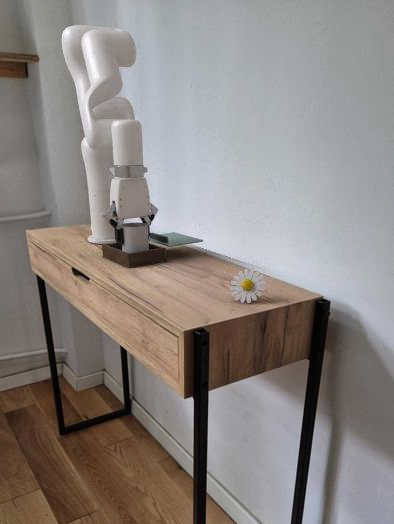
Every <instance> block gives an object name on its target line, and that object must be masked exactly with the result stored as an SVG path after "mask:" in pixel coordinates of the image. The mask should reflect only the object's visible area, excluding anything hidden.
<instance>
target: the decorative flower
mask: <svg viewBox="0 0 394 524" xmlns="http://www.w3.org/2000/svg"><path fill="white" fill-rule="evenodd" d="M243 271H244V272H243ZM243 271H241V270H239V271H238V272H237V273H238V275H239V276H238V275H234V276H233V280H230V285H232V286H231V287H229V290H230V291H232V292H231V295H230V296H232V297H235V301H236V302H237V301H240V304H241V303H242V304H243V303H245V301H246V302H247V304H250V303H251V302H252V300H253V301H257V300H258V297H262V296H263V293H262V292H261V291H265V290H266V287H265V286H264V285H266V283H267V281H266V280H263V279H264V278H265V276H264V274H261V271H259V270H256V271H255V268H250V270H249V269H248V268H244V270H243ZM257 296H258V297H257Z"/></svg>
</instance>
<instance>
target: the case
mask: <svg viewBox="0 0 394 524" xmlns="http://www.w3.org/2000/svg"><path fill="white" fill-rule="evenodd" d="M101 250H102V258H103V259H106V260H108V261H111V262H114V263H116V264H118V265H120V266H123V267H126V268H128V269H131V268H137V267H141V266H142V267H143V266H147V265H153V264H158V263H164V262H165V263H166V262H167V253H166V251H167V250H166V247H163V246H161V245H157V244H153V243H150V242H149V250H147V251H141V252H134V253H127V252H124V251H122V244H119V243H109V244H101Z"/></svg>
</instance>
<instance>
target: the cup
mask: <svg viewBox="0 0 394 524" xmlns="http://www.w3.org/2000/svg"><path fill="white" fill-rule="evenodd" d="M121 229H123V235H124V244H122V251H124V252H127V253H134V252H141V251H147V250H149V243H150V241H149V238H148V224H146V223H142V222H125V223H124V222H123V224H122V227H121Z"/></svg>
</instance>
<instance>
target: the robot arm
mask: <svg viewBox="0 0 394 524" xmlns="http://www.w3.org/2000/svg"><path fill="white" fill-rule="evenodd" d="M61 49H62V54H63V58H64V61H65V65H66V67H67V69H68V71H69V74H70V76H71V77H72V80H73V83H74V86H75V91H76V92H75V93H76V99H77V103H78V109H79V115H80V119H81V124H82V129H83V134H84V137H83V139H82V140H81V142H80V143H81V144H80V148H81V149H80V151H81V155H82V159H83V163H84V169H85V174H86V181H87V182H86V183H87V193H88V202H89V203H88V204H89V215H90V228H89V229H90V231H91V235H89V236H87V242H89V243H91V244H97V245H102V244H109V243H119V244H124V235H123V229H121V227H122V224H124V221H125V220H128V219H129V220H130V219H136V218H137V219H139V220H140V221H141V223H146V224H148V238H149V236H150V233H151V228H150V227H151V226H152V222H154V219H155V218H156V216H157V214H158V212H159V208H158V207H157V206H155V205H154V204H153V203H152V202H151V197H150V190H149V185H148V181H147V178H146V177H145V173H148V167H147V166H145V164H144V149H143V148H144V147H143V126H142V123H141V122H140V121H139V120H137V119H136V117H135V112H134V107H133V105H132V103H131V102H130V100H129V99H127V98H126V97H122V96H118V95H119V94H120V93H121V92H122V89H123V85H124V84H123V83H124V82H123V79H122V75H121V70H120V68H131V67H133V66H134V65H135V63H136V60H137V47H136V43H135V40H134V38H133V36H132V34H131V33H129V32H128V31H126V30H123V29H121V28H118V27H108V26H97V25H96V26H95V25H84V24H78V25H77V24H76V25H71V26H67V27H66V28H65V29H64V30H63V31H62V34H61ZM111 168H112V169H113V170H114V171H113V172H114V174H113V172H112V171H111V170H110V169H111Z"/></svg>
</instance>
